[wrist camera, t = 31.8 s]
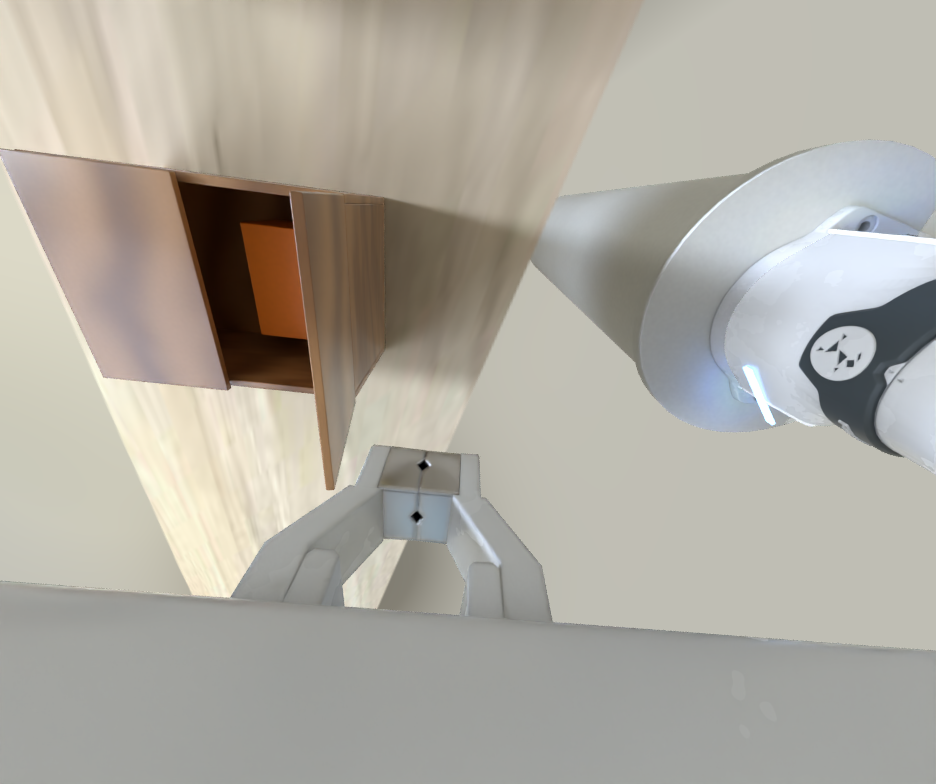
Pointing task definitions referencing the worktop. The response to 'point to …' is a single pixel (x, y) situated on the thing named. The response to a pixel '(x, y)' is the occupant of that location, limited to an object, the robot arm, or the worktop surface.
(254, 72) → the worktop surface
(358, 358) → the carton
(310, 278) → the carton flap
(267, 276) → the orange block
